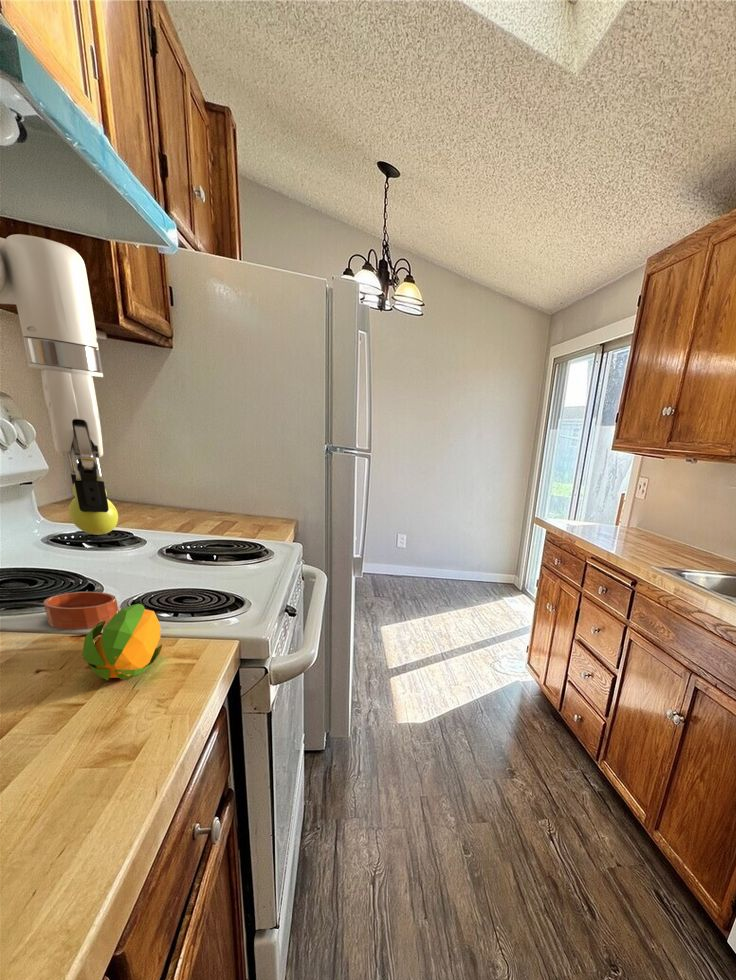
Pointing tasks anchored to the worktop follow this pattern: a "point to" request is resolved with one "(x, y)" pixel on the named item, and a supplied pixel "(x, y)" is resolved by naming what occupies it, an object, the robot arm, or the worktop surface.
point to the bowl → (80, 610)
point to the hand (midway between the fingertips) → (92, 506)
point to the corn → (124, 643)
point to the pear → (93, 517)
